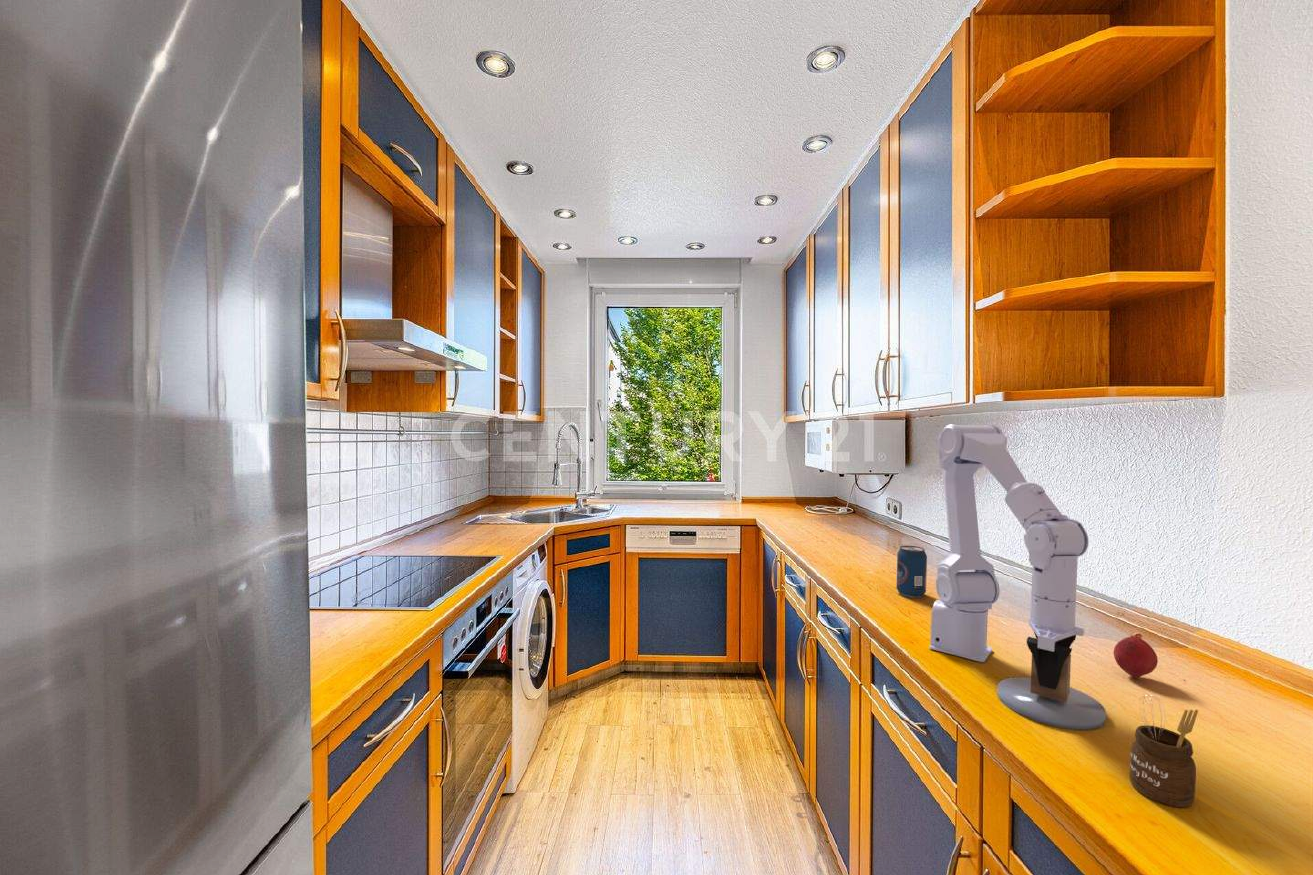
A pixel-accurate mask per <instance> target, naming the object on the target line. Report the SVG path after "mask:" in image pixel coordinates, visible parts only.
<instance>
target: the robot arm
mask: <svg viewBox="0 0 1313 875" xmlns="http://www.w3.org/2000/svg"><path fill="white" fill-rule="evenodd" d="M1007 446H1008V438H1007V436H1006V435H1005V434H1004V433H1003V431H1002V429H1001V428H1000V427H999V426H998V425H996V424H987V425H976V424H975V425H971V424H970V425H965V424H963V425H962V424H961V425H960V424H958V425H957V424H951V423H950V424H947V425H946V426H944V428H943V429H942V431H941V432H940V434H939V436H938V437H937V447H938V449H937V450H938V460H939V462H938V463H939V467H940V468H942V475H943V485H944V486H943V487H944V499H945V500H944V501H945V510H946V511H945V512H946V523H947V531H948V532H947V533H948V534H947V535H948V545H949V555H948V556H947V557H946V558H944V559H943V560H942V561H941V562H940V563H939V562H938V564H937V565H936V566H937V576H936V579H935V590H936V595H937V596H938V598H939V599H940V600H939V599H937V600H935V601H934V602H933V606H932V609H931V618H930V645H929V649H930V650H933V651H936V652H937V651H938V652H942V653H946V654H948V655H953V656H956V657H961V658H965V659H967V660H972V661H976V662H980V663H985V662H986V660H987V659H988V657H989V656H990V655H991V653H992V651H993V647H991V646H988V621H989V620H988V618H989V617H988V616H989V610H992V609H993V608H992V607H993V604H995V603H996V602H998V599H999V598H1000V592H1001V590H1000V583H999V582H998V580H997V577H996V574H995V567H994V565H993V564H992V563H990V562H989V561H988V560H987V559H986V558H984V557H983V556H982V554H981V543H980V533H979V522H978V521H979V520H978V512H977V510H978V509H977V500H976V492H975V481H974V475H975V474H976V473H977V471H978V470H979V469H981V468H984V467H985V468H986V469H987V470H988V472H990V474H991V475H992V476H993V477H994V479H995V480H996V481H997V482H998V484H1000V485H1001V487H1002V488H1003V489H1004V490H1005V491H1006V494H1005V498H1004V500H1005V504H1007V507H1008V508H1009V510H1010V511H1011V512H1012V514H1013V515H1014V516H1015V518H1016V519H1017V521H1018V522H1019V523H1020V525H1021V527H1022V528H1023V529H1024V531H1025V533H1024V534H1023V541H1024V545H1025V548H1026V549H1027V552H1028V562H1029V563H1030V566H1032V570H1031V571H1032V574H1031V595H1030V598H1031V599H1030V618H1029V619H1028V626H1029V627H1030V628H1031V630H1032V631H1033V633H1034V635H1035V637H1032V636H1028V637H1027V639H1026V646H1027V648H1028V649H1029V651H1030V652H1031V657H1032V656H1033V658H1034V661H1035V665H1036V671H1037V676H1038V681H1039V684H1040V686H1043V687H1047V688H1051V689H1054V690H1056V688H1057V685H1058V682H1059V679H1060V674H1061V670H1062V666H1063V664H1064V662H1065V660H1066V659H1067V657H1068V656H1069V655H1070V654H1071V653H1072V651H1073V648H1071V646H1072V645H1073V643H1074V642H1075V641H1076V639H1077V636H1078V637H1079V636H1080V637H1084V635H1085V629H1084V628H1083V627H1078V626H1076V608H1077V607H1076V606H1077V605H1076V604H1077V585H1078V584H1077V582H1078V558H1079V557H1080V556H1083V555H1084V554H1085V553H1086V552H1087V550H1088V547H1089V535H1088V533H1087V531H1086V529H1085V527H1084V526H1083V524H1082V523H1081V522H1080V521H1078V520H1076V519H1073V518H1070V517H1068V515H1065V514H1062V513H1061V511H1060V510H1059V509H1058V507H1057V506H1056V505H1055V503H1053V501H1052V499H1051V498H1050V497H1049V496H1048V495H1047V493H1046V490H1045V489H1044V487H1043V486H1041V485H1039V484H1038V483H1035V482H1028V481H1027V479H1026V477H1024V474H1023V473H1022V472H1021V470H1020V468H1019V466H1018V465H1017V464H1016V462H1015V461H1014V459H1013V457H1012V456H1011V454H1010V452H1009V451H1008V449H1007Z"/></svg>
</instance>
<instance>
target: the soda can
mask: <svg viewBox="0 0 1313 875" xmlns="http://www.w3.org/2000/svg"><path fill="white" fill-rule="evenodd" d="M925 551H926V550H925V548H923V547H921V546H918V545H917V546H916V545H900V546H899V550H898V551H897V555H896V559H897V560H896V565H897V566H896V590H897V591H898V593H899V594H900V595H901V596H904V597H907V598H913V599H915V598H916V599H917V598H922V597H924V595H925V594H926V592H927V570H928V568H927V567H928V565H927V564H928V556H927V553H926V552H925Z"/></svg>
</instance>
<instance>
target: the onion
mask: <svg viewBox="0 0 1313 875" xmlns="http://www.w3.org/2000/svg"><path fill="white" fill-rule="evenodd" d="M1142 637H1143V635H1142V634H1141V633H1140V632H1134V633H1132V634H1131V635H1130V636H1128V637H1125V638H1123V639H1121V640H1120V641H1118V642H1117V643H1116V645H1115V646H1114V649H1113V656H1114V661H1115V662H1116V664H1117V665H1118V666H1119V667H1120V669H1121V670H1123V671H1124V672H1125V673H1126V674H1127V675H1129V676H1130V677H1131V678H1135V679H1138V678H1140V677H1143V676H1146V675H1149V674H1150V673H1153V672H1154V670H1155V669H1156V668H1157V666H1158V663H1159V662H1158V656H1157V653H1156V652H1155V650H1154V648H1153V647H1152V646H1151V645H1150V644H1149V643H1148V642H1147V641H1145V640H1144V639H1142Z"/></svg>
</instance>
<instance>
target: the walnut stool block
mask: <svg viewBox="0 0 1313 875" xmlns="http://www.w3.org/2000/svg"><path fill="white" fill-rule="evenodd" d="M1071 662H1072V654H1071V653H1070V655H1069V656H1068V657H1067V659H1066V660H1065V662H1064V664H1063V666H1062V670H1061V674H1060V679H1059V682H1058V685H1057V688H1056V690H1054V689H1051V688H1047V687H1043V686H1040V684H1039V681H1038V676H1037V671H1036V665H1035V661H1034V658H1033V656H1032V655H1031V669H1030V670H1031V671H1030V672H1031V675H1030V678H1031V693H1034V694H1037V695H1041V696H1045V697H1048V698H1052V699H1055V700H1059V701H1062V702H1066V703H1067V699H1068V695H1069V692H1070V687H1071V686H1070V685H1071V669H1072V667H1071V666H1072V664H1071Z"/></svg>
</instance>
